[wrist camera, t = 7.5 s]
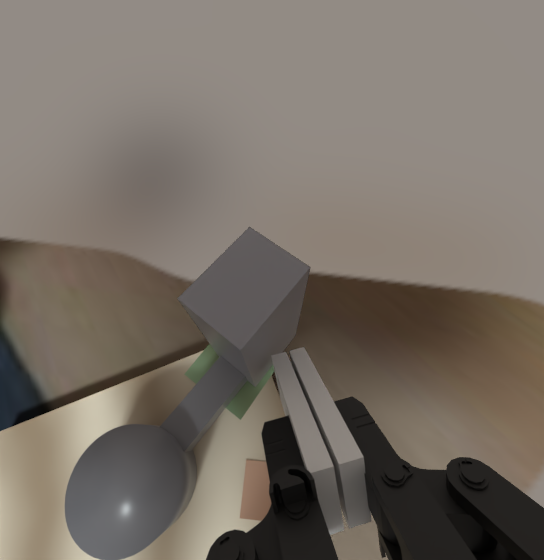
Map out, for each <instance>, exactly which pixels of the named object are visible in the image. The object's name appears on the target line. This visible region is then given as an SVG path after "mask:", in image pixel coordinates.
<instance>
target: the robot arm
mask: <svg viewBox="0 0 544 560" xmlns="http://www.w3.org/2000/svg"><path fill="white" fill-rule="evenodd" d="M289 352H290V357H291V362H292V365H291V362H290V360H289V357H288V355H287V353H286V352H283V353H279V354H275V355H271V357H272V362H273V367H274V371H275V376H276V380H277V385H278V390H279V394H280V399H281V403H282V406H283V410H284V413H285V417H281V418H278V419H274V420H270V421H267V422H264V426H263V429H262V433H261V435H262V441H263V446H264V452H265V458H266V463H267V469H268V474H269V480H270V484H269V495H270V499H271V507H270V509H269V511H268V513H267V515H266V516H265V517H264V519H263V520H262V521H261V522H260V523H259V524H257V525H256V526H255V527H253V528H252V529H251V530H249V531H248V532H247V533H246V532H244V531H241V530H231V531H227V532H225V533H224V534H222V535H221V536H220V537H218V538H217V539H216V541H215V542H214V543H213V545H212V546H211V547H210V550H209V552H208V555H207V558H206V560H338V557H337V554H336V551H335V549H334V546H333V543H332V540H331V537H330V535H331V534H334V533H337V532H340V531H343V530H344V526H343V520H342V513H341V509H342V511H343V514H344V517H345V519H346V522H347V524H348V527H349V528H352V527H355V526H358V525H361V524H365V523H368V522H371V513H372V516H373V518H374V520H375V522H376V524H377V528H378V537H379V545H380V551H381V555H382V558H383V557H386V556H385V553H386V555H387V557H388V559H389V560H544V508H543V507H542V506H540V505H539V504H538V503H536V502H535V501H534V500H532V499H531V498H530V497H528V496H527V495H526V494H524V493H523V492H522V491H520V490H519V489H518V488H517V487H515V486H514V485H513V484H511V483H510V482H509V481H507V480H506V479H505V478H503V477H502V476H501V475H499V474H498V473H497V472H495V471H494V470H493V469H491V468H490V467H489V466H487V465H485V464H484V463H482V462H480V461H478V460H475V459H472V458H466V457H459V458H456V459H453V460H451V461H450V462H449V464H448V465H447V470H426V469H419V468H416V467H413V466H411V465H410V464H409V463H408V462H406V461H404V460H403V459H401V458H400V457H399V456H398V455H397V454H396V452H395V451H394V449H393V448H392V446H391V445H390V443H389V442H388V440H387V439H386V437H385V436H384V434H383V433H382V431H381V430H380V429H379V427H378V426H377V424H375V421H374V420H373V418H372V417H371V415H370V414H369V412H368V411H367V409H366V408H365V406H364V405H363V403H361V402H360V401H358V400H357V399H355V398H354V397H349V398H346V399H342V400H338V401H335V402H334V401H333V399H332V398H331V396H330V394H329V392H328V390H327V388H326V387H325V385H324V383H323V381H322V379H321V377H320V375H319V374H318V372H317V370H316V368H315V366H314V364H313V363H312V361H311V359H310V357H309V355H308V353H307V351H306V350H305V348H304V347H302V348H298V349H294V350H290V351H289ZM340 506H341V507H340ZM370 511H371V513H370Z"/></svg>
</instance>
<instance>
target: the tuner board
mask: <svg viewBox="0 0 544 560" xmlns="http://www.w3.org/2000/svg"><path fill="white" fill-rule="evenodd" d="M218 358H219V356H218V355H217V353H216V352H215V350H214V349H213V348H212V346H211V345H210V343H209V345H208V346H207V347H206V348H205V349H204V350H203V351H201V352H198V353H196V354H193V355H191V356H188V357H186V358H183V359H181V360H178V361H176V362H173V363H171V364H168V365H166V366H163V367H161V368H158V369H156V370H153V371H151V372H148V373H146V374H143V375H141V376H138V377H136V378H133V379H131V380H128V381H126V382H123V383H120V384H118V385H115V386H113V387H110V388H108V389H105V390H103V391H100V392H98V393H95V394H93V395H90V396H88V397H85V398H83V399H80V400H78V401H75V402H73V403H70V404H68V405H65V406H63V407H60V408H58V409H55V410H53V411H50V412H48V413H45V414H43V415H40V416H38V417H35V418H33V419H30V420H28V421H25V422H23V423H20V424H18V425H15V426H13V427H10V428H8V429H5V430H3V431H0V560H100V559H97V558H94V557H92V556H90V555H88V554H86V553H85V552H84V551H82V550H81V549H80V548H79V547H78V545H77V544H76V543H75V542H74V540H73V538H72V537H71V535H70V532H69V530H68V527H67V523H66V518H65V494H66V489H67V485H68V482H69V479H70V476H71V473H72V471H73V469H74V467H75V465H76V463H77V462H78V460H79V458H80V457H81V455H82V454H83V453H84V452H85V450H86V449H87V448H88V447H89V446H90V445H91V444H92V443H93V442H94V441H95V440H96V439H97V438H99V437H100V436H101V435H103V434H105V433H106V432H108V431H110V430H112V429H114V428H117V427H120V426H123V425H128V424H143V425H157V426H161V425H162V423H163V422H164V421H165V420H166V419H167V418H168V416H169V415H170V414H171V413H172V412H173V411H174V409H175V408H176V407H177V406H178V405H179V404H180V403H181V401H182V400H183V399H184V398H185V397H186V396H187V394H188V393H189V392H190V391H191V390H192V389H193V387H194V386H195V385H196V384H197V383H198V382H199V380H200V379H201V378H202V377H203V376H204V375H205V374H206V372H207V371H208V370H209V369H210V368H211V367H212V365H213V364H214V363H215V362H216V361H217V360H218ZM273 373H274V367H273V365H272V366H271V368H270V369H269V370H268V372H267V373H266V374H265V375H264V377H263V378H262V379H261V381H260V382H259V383H258V384H257V386H256V387H255V386H253V385H252V384H251V383H250V382H249V381H247V382H246V383H245V384H244V385H243V387H242V388H241V389H240V390H239V392H238V393H237V394H236V395H235V397H234V398H233V399H232V401H231V402H230V403H229V404H228V406H227V407H226V408H225V409H224V411H223V412H222V413H221V414H220V416H219V417H218V418H217V419H216V421H215V422H214V423H213V424H212V426H211V427H210V428H209V429H208V431H207V432H206V433H205V434H204V436H203V437H202V438H201V439H200V441H199V442H198V443H197V444H196V446H195V447H194V448H193V452H194V455H195V458H196V464H197V479H196V485H195V489H194V493H193V495H192V498H191V500H190V502H189V504H188V506H187V508H186V509H185V511H184V512H183V514H182V515H181V516H180V517H179V519H178V520H177V521H176V522H175V523H173V524H172V525H171V526H170V527H169V528H168V529H167V530H166V531H165V532H163V533H162V534H161V535H160V536H159V537H158V538H157V539H156V540H154V541H153V542H152V543H151V544H150V545H149V546H147V547H146V548H145V549H143V550H142V551H140V552H139V553H137V554H135V555H133V556H130V557H128V558H125V559H120V560H206V558H207V555H208V552H209V550H210V547H211V546H212V545H213V543H214V542H215V541H216V539H217V538H218V537H220V536H221V535H222V534H224V533H225V532H227V531H231V530H241V531H244V532H246V533H247V532H248V531H249V530H251V529H252V528H253V527H255V526H256V525H257V524H259V523H260V522H261V521H262V520H263V519H264V517H265V516H266V515H267V513H268V511H269V509H270V507H271V499H270V495H269V484H270V480H269V474H268V469H267V463H266V458H265V452H264V446H263V441H262V435H261V433H262V429H263V426H264V422H267V421H270V420H274V419H278V418H281V417H285V413H284V410H283V406H282V403H281V399H280V396H279V393H278V391H277V388H276V386H275V383H274V381H273V378H272V374H273Z"/></svg>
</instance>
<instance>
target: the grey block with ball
mask: <svg viewBox="0 0 544 560" xmlns="http://www.w3.org/2000/svg"><path fill="white" fill-rule="evenodd" d="M309 272H310V267H309V266H308V265H306V264H305V263H303V262H302V261H300V260H299V259H297V258H296V257H294V256H293V255H291V254H290V253H288V252H287V251H285V250H284V249H282V248H281V247H279V246H278V245H276V244H275V243H273V242H272V241H270V240H269V239H267V238H266V237H264V236H263V235H261V234H259V233H258V232H257V231H255V230H254V229H252V228H251V227H249V228H248V229H247V230H246V231H245V232H244V233H243V234H242V235H241V236H240V237H239V238H238V239H237V240H236V241H235V242H234V243H233V244H232V245H231V246H230V247H229V248H228V249H227V250H226V251H225V252H224V253H223V254H222V255H221V256H220V257H219V258H218V259H217V260H216V261H215V262H214V263H213V264H212V265H211V266H210V267H209V268H208V269H207V270H206V271H205V272H204V273H203V274H202V275H201V276H200V277H199V278H198V279H197V280H196V281H195V282H194V283H193V284H192V285H191V286H190V287H189V288H188V289H187V290H185V291H184V292H183V293H182V294H181V295H180V296H179V297H178V298H177V299H178V300H179V302H180V303H181V304H182V306H183V307H184V309H185V310H186V311H187V313H188V314H189V316H190V317H191V318H192V320H193V321H194V323H195V324H196V325H197V327H198V328H199V330H200V331H201V332H202V334H203V335H204V337H205V338H206V339H207V341H208V342H209V343H210V345H211V346H212V348H213V349H214V350H215V352H216V353H217V355H218V356H219V358H218V360H217V361H216V362H215V363H214V364H213V365H212V367H211V368H210V369H209V370H208V371H207V372H206V374H205V375H204V376H203V377H202V378H201V379H200V380H199V382H198V383H197V384H196V385H195V386H194V387H193V389H192V390H191V391H190V392H189V393H188V394H187V396H186V397H185V398H184V399H183V400H182V401H181V403H180V404H179V405H178V406H177V407H176V408H175V409H174V411H173V412H172V413H171V414H170V415H169V416H168V418H167V419H166V420H165V421H164V422H163V423H162V425H161V426H157V425H143V424H128V425H123V426H120V427H117V428H114V429H112V430H110V431H108V432H106V433H105V434H103V435H101V436H100V437H99V438H97V439H96V440H95V441H94V442H93V443H92V444H91V445H90V446H89V447H88V448H87V449H86V450H85V452H84V453H83V454H82V455H81V457H80V458H79V460H78V462H77V463H76V465H75V467H74V469H73V471H72V473H71V476H70V479H69V482H68V485H67V489H66V494H65V518H66V523H67V527H68V530H69V532H70V535H71V537H72V538H73V540H74V542H75V543H76V544H77V545H78V547H79V548H80V549H81V550H82V551H84V552H85V553H86V554H88V555H90V556H92V557H94V558H97V559H100V560H120V559H125V558H128V557H130V556H133V555H135V554H137V553H139V552H140V551H142V550H143V549H145V548H146V547H147V546H149V545H150V544H151V543H152V542H153V541H154V540H156V539H157V538H158V537H159V536H160V535H161V534H162V533H163V532H165V531H166V530H167V529H168V528H169V527H170V526H171V525H172V524H173V523H175V522H176V521H177V520H178V519H179V517H180V516H181V515H182V514H183V512H184V511H185V509H186V508H187V506H188V504H189V502H190V500H191V498H192V495H193V493H194V489H195V485H196V479H197V464H196V458H195V455H194V452H193V448H194V447H195V446H196V444H197V443H198V442H199V441H200V439H201V438H202V437H203V436H204V434H205V433H206V432H207V431H208V429H209V428H210V427H211V426H212V424H213V423H214V422H215V421H216V419H217V418H218V417H219V416H220V414H221V413H222V412H223V411H224V409H225V408H226V407H227V406H228V404H229V403H230V402H231V401H232V399H233V398H234V397H235V395H236V394H237V393H238V392H239V390H240V389H241V388H242V387H243V385H244V384H245V383H246V382H247V381H249V382H250V383H251V384H252V385H253V386H255V387H256V386H257V384H258V383H259V382H260V381H261V379H262V378H263V377H264V375H265V374H266V373H267V372H268V370H269V369H270V368H271V366H272V365H273V362H272V357H271V355H275V354H279V353H282V352H283V351H284V350H285V348H286V347H287V346H288V345H289V343H290V342H291V341H292V339H293V338H294V337H295V336H296V331H297V326H298V322H299V317H300V313H301V308H302V304H303V299H304V294H305V290H306V285H307V281H308V276H309Z"/></svg>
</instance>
